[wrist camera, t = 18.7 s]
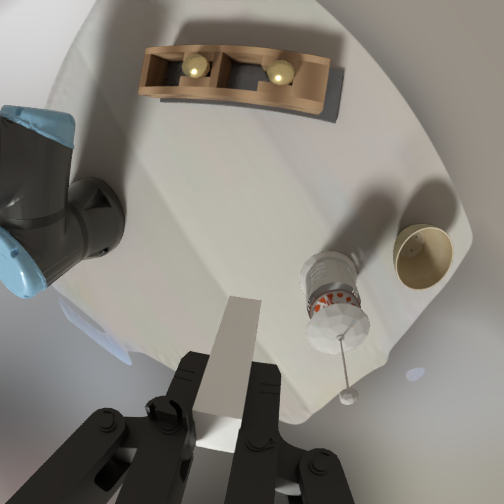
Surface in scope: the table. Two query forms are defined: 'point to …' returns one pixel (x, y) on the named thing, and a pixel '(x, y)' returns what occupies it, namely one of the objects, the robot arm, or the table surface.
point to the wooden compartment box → (221, 58)
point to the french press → (334, 308)
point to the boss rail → (254, 84)
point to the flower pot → (422, 256)
